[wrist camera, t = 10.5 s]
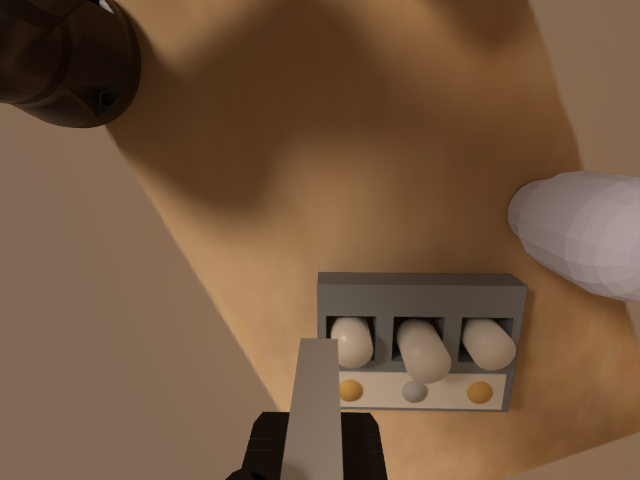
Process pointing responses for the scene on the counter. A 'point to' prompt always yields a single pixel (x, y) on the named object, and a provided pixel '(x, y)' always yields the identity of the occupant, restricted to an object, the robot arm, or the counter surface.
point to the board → (447, 309)
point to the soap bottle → (583, 229)
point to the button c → (487, 343)
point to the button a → (352, 340)
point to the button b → (422, 351)
